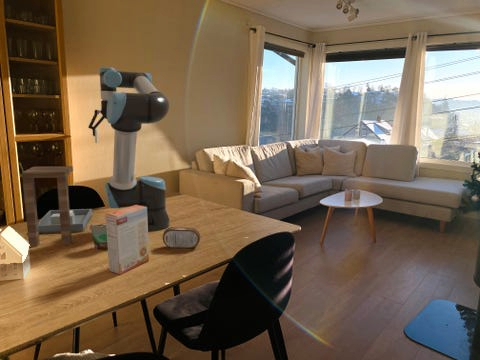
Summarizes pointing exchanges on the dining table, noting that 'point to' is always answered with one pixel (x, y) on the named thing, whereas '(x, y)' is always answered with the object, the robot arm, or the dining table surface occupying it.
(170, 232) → the tin
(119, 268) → the cracker box
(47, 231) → the tray
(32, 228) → the shelf stand
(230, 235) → the dining table surface
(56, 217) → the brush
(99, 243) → the food container
